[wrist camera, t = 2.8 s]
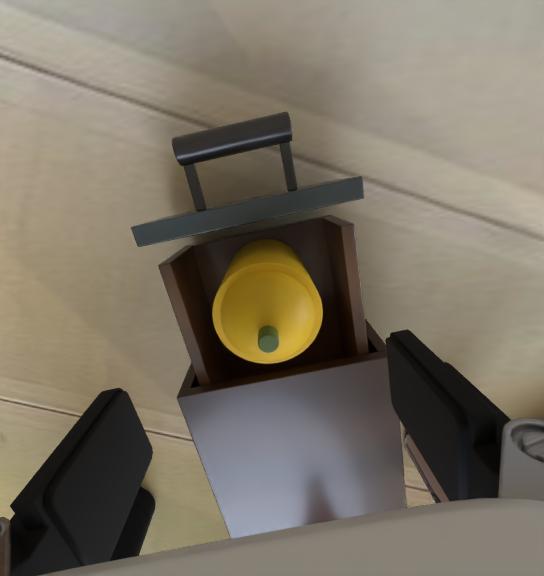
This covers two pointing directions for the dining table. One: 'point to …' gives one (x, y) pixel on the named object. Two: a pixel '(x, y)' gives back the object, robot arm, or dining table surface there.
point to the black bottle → (135, 527)
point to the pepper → (267, 304)
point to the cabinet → (299, 442)
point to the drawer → (219, 253)
